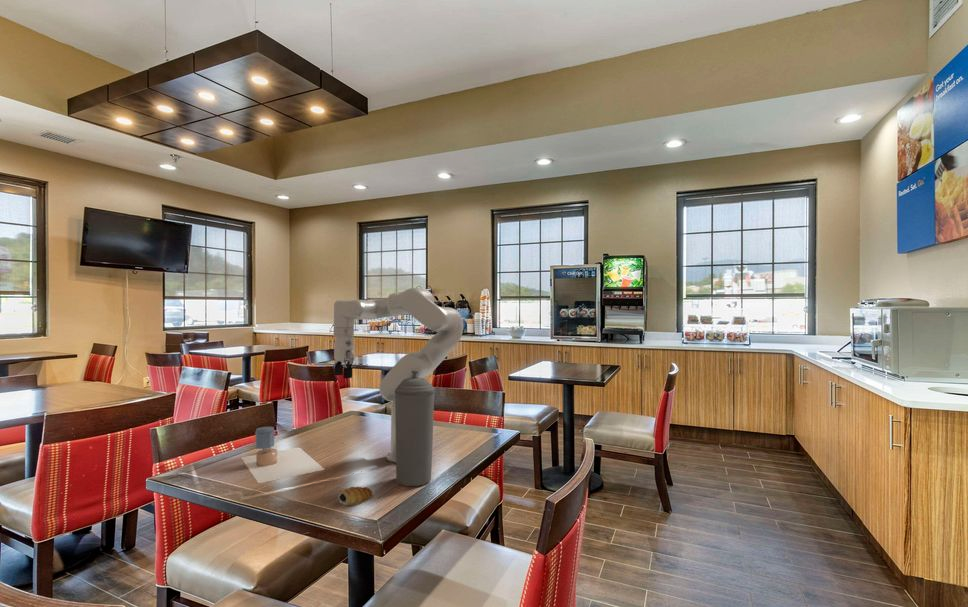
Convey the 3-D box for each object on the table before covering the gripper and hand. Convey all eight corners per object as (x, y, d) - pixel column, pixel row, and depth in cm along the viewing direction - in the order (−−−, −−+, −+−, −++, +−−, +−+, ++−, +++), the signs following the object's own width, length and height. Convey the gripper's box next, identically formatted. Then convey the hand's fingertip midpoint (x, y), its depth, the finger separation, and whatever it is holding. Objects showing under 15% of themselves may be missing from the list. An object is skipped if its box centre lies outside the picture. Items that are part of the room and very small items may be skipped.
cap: (272, 443, 155) (272, 425, 155) (274, 446, 151) (275, 429, 151) (254, 445, 152) (254, 428, 152) (256, 449, 148) (257, 431, 148)
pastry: (364, 492, 131) (364, 479, 131) (377, 499, 127) (377, 485, 127) (335, 502, 124) (335, 488, 124) (347, 509, 120) (348, 495, 120)
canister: (440, 483, 138) (442, 371, 139) (402, 492, 131) (403, 373, 132) (423, 471, 148) (425, 366, 149) (387, 478, 142) (388, 368, 143)
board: (325, 472, 146) (325, 469, 146) (258, 486, 134) (258, 483, 134) (299, 450, 170) (299, 447, 170) (240, 460, 158) (240, 457, 158)
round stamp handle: (279, 463, 151) (279, 431, 152) (258, 467, 148) (259, 434, 148) (274, 458, 157) (275, 427, 157) (254, 462, 153) (255, 430, 153)
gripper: (361, 333, 167) (361, 378, 166) (345, 331, 180) (344, 373, 180) (342, 333, 162) (341, 380, 162) (326, 331, 176) (325, 374, 175)
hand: (343, 376), depth 171 cm, fingers open, 9 cm apart
